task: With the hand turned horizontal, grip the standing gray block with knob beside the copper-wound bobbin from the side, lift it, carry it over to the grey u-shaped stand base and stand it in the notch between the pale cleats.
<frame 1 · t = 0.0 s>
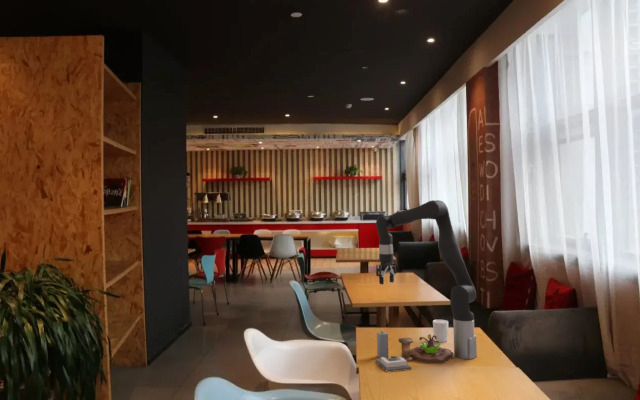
hand: (386, 283, 255), 29 cm above the table, tool pointing down, fingers open, 8 cm apart
grey u-shaped stand base: (393, 365, 210), on the table
white cup: (441, 341, 248), on the table
gray block with knob: (382, 356, 223), on the table
plant: (430, 357, 222), on the table
bobbin: (406, 359, 219), on the table
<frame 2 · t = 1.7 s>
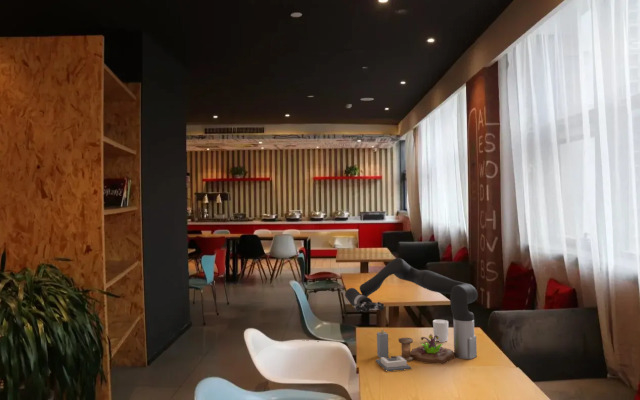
hand: (373, 309, 234), 20 cm above the table, tool horizontal, fingers open, 8 cm apart
plant: (431, 358, 222), on the table, touching bobbin
everything else where it was.
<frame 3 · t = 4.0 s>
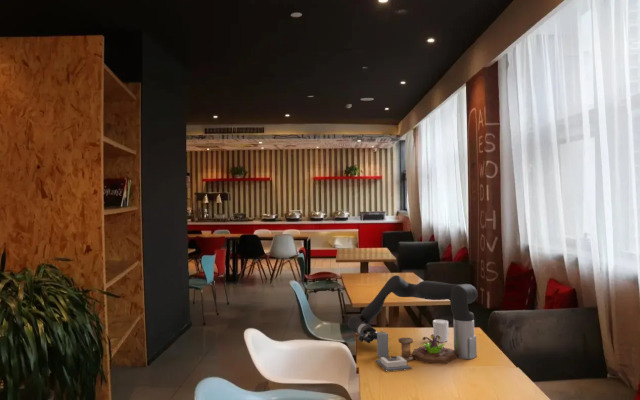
hand: (378, 340, 229), 6 cm above the table, tool horizontal, fingers open, 8 cm apart
plant: (433, 358, 222), on the table
everything else where it was.
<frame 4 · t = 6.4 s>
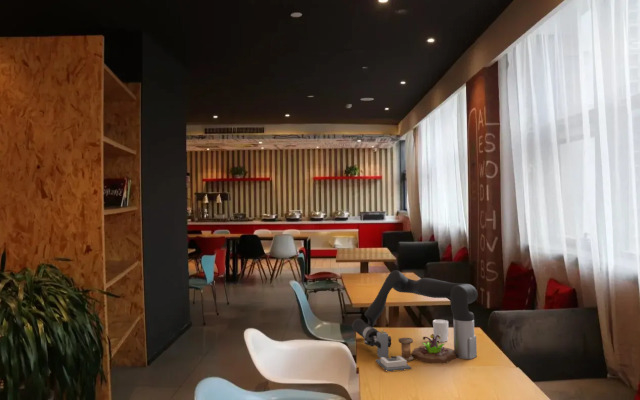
hand: (384, 345, 220), 6 cm above the table, tool horizontal, fingers closed on gray block with knob, 4 cm apart
gray block with knob: (382, 356, 223), on the table, touching gripper
everything else where it was.
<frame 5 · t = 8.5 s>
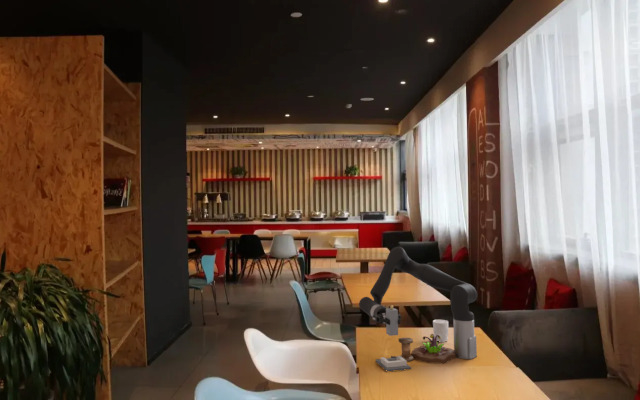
hand: (394, 322, 208), 20 cm above the table, tool horizontal, fingers closed on gray block with knob, 4 cm apart
gray block with knob: (392, 334, 211), point 14 cm above the table, touching gripper
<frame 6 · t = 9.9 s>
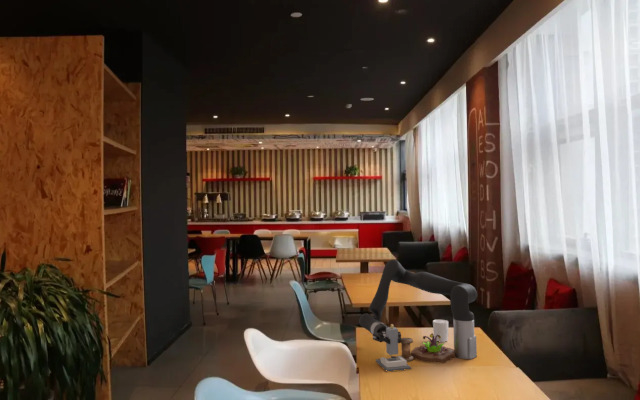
hand: (394, 341, 208), 11 cm above the table, tool horizontal, fingers closed on gray block with knob, 4 cm apart
gray block with knob: (392, 353, 211), point 5 cm above the table, touching gripper
when the fingers open (11 cm above the table, at t = 10.8 s): gray block with knob drops 3 cm, resting on grey u-shaped stand base.
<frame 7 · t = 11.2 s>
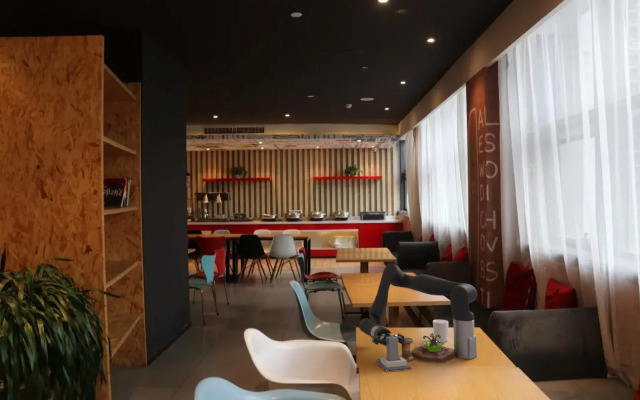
hand: (394, 342, 208), 11 cm above the table, tool horizontal, fingers open, 7 cm apart
gray block with knob: (392, 362, 210), point 1 cm above the table, touching grey u-shaped stand base
plant: (433, 356, 223), on the table, touching arm
everything else where it was.
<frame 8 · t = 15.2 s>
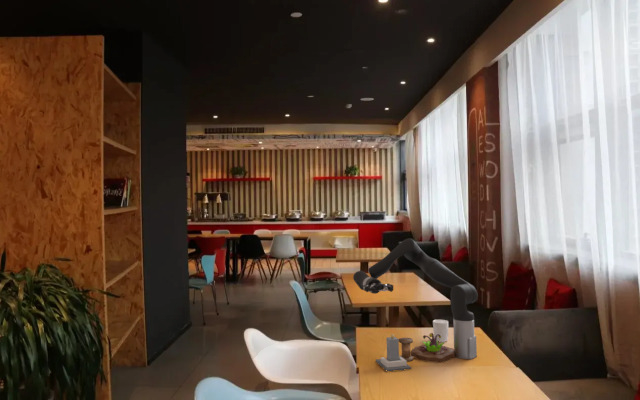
hand: (383, 290, 230), 30 cm above the table, tool horizontal, fingers open, 8 cm apart
plant: (432, 356, 224), on the table
everything else where it was.
at the end: gray block with knob 0.2 cm from the grey u-shaped stand base (horizontally); gray block with knob tilted 0°; gray block with knob point 1.0 cm above the table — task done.
